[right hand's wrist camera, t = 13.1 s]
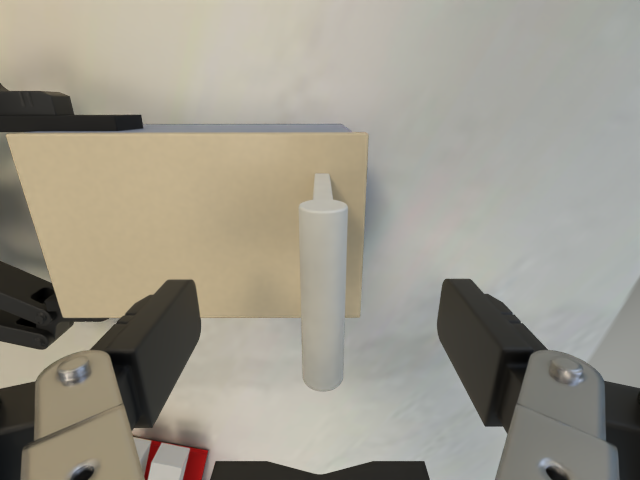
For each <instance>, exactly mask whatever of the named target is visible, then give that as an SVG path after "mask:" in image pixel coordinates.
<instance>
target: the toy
mask: <svg viewBox="0 0 640 480" xmlns="http://www.w3.org/2000/svg"><path fill="white" fill-rule="evenodd" d="M133 439H134V442H135V446H136V449H137V453H138V456H139V460H140V463H141V467H142V470H143V474H144V478H145V480H201V479H202V475H203V471H204V466H205V462H206V458H207V453H208V450H203V449H197V448H192V447H186V446H181V445H175V444H170V443H164V442H159V441H153V440H148V439H142V438H137V437H133Z"/></svg>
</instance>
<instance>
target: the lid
mask: <svg viewBox="0 0 640 480" xmlns="http://www.w3.org/2000/svg"><path fill="white" fill-rule="evenodd" d="M6 138H7V141H8V144H9V148H10V151H11V154H12V157H13V160H14V163H15V167H16V170H17V173H18V176H19V179H20V183H21V186H22V189H23V192H24V195H25V198H26V202H27V205H28V208H29V211H30V214H31V218H32V221H33V224H34V227H35V230H36V233H37V237H38V240H39V243H40V246H41V249H42V253H43V256H44V259H45V262H46V265H47V268H48V272H49V275H50V278H51V281H52V284H53V288H54V291H55V294H56V297H57V300H58V303H59V307H60V310H61V313H62V316H63V318H121V317H122V316H123V315H125V313H126V312H127V311H128V310H129V309H130V308H131V307H132V306H133V305H134V304H135V303H136V302H138V301H140V300H141V299H143V298H145V297H147V296H148V295H154V294H155V293H156V291H157V290H158V289H159V288H160V287H161V286H162V285H163V284H164V283H165V282H166V281H167V280H168V279H192V280H193V281H194V282H195V285H196V290H197V297H198V304H199V311H200V318H301V330H302V371H303V380H304V382H305V384H306V385H307V386H308V387H309V388H311V389H313V390H316V391H330V390H333V389H335V388H336V387H338V386H339V385H340V383H341V382H342V380H343V364H344V329H345V318H359V317H360V310H361V289H362V268H363V246H364V225H365V204H366V182H367V161H368V140H369V135H368V133H366V132H139V133H10V134H6Z"/></svg>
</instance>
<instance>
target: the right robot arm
mask: <svg viewBox="0 0 640 480" xmlns="http://www.w3.org/2000/svg"><path fill="white" fill-rule="evenodd" d="M437 330H438V336H439V339H440V341H441V343H442V345H443V347H444V349H445V351H446V353H447V355H448V357H449V359H450V361H451V362H452V364H453V366H454V368H455V370H456V372H457V374H458V376H459V378H460V380H461V382H462V383H463V385H464V387H465V389H466V391H467V393H468V395H469V397H470V399H471V401H472V402H473V404H474V406H475V408H476V410H477V412H478V414H479V416H480V418H481V420H482V422H483V423H484V425H485V426H503V427H504V429H505V430H506V432H507V434H508V435H507V439H506V442H505V446H504V449H503V453H502V456H501V460H500V463H499V467H498V470H497V474H496V478H495V480H640V388H636V387H631V386H626V385H621V384H616V383H612V382H607V381H604V380H603V378H602V376H601V375H600V373H599V372H598V371H597V370H596V369H594V368H593V367H592V366H591V365H589V364H588V363H586V362H584V361H583V360H581V359H579V358H577V357H574V356H572V355H569V354H566V353H563V352H559V351H553V350H548V349H547V348H546V347H545V346H544V345H543V344H542V343H541V342H540V341H539V340H538V339H537V338H536V337H535V336H534V335H533V334H532V333H531V332H530V331H529V329H528V328H527V327H526V326H525V325H524V324H523V323H521V321H520V320H519V319H518V318H517V317H516V316H515V315H513V314H512V312H511V311H510V310H509V309H508V308H507V306H506V305H505V304H504V303H503V302H501V301H499V300H497V299H496V298H494V297H492V296H491V295H489V294H484V293H483V292H482V291H481V290H480V289H479V288H478V287H477V286H476V284H475V283H474V282H473V281H472V280H471V279H445V280H444V282H443V285H442V291H441V298H440V305H439V312H438V319H437ZM200 333H201V318H200V311H199V304H198V297H197V290H196V285H195V282H194V281H193V280H192V279H168V280H167V281H166V282H165V283H164V284H163V285H162V286H161V287H160V288H159V289H158V290H157V291H156V293H155V294H154V295H148V296H147V297H145V298H143V299H141V300H140V301H138V302H136V303H135V304H134V305H133V306H132V307H131V308H130V309H129V310H128V311H127V312H126V313H125V315H123V316H122V317H121V318H120V319H119V320H118V321H117V324H114V325H113V326H112V328H111V329H110V330H109V331H108V332H107V333H106V334H105V335H104V336H103V337H102V338H101V339H100V340H99V341H98V342H97V343H96V344H95V345H94V346H93V347H92V348H91V349H90V350H87V351H81V352H77V353H74V354H71V355H68V356H66V357H63V358H61V359H59V360H57V361H56V362H54V363H52V364H51V365H49V366H48V367H47V368H46V369H44V370H43V371H42V372H41V373H40V375H39V376H38V378H37V380H36V381H35V382H31V383H26V384H21V385H16V386H11V387H7V388H2V389H0V480H145V478H144V474H143V470H142V467H141V463H140V460H139V456H138V453H137V449H136V446H135V442H134V439H133V435H132V430H133V428H152V427H153V425H154V423H155V422H156V420H157V418H158V416H159V414H160V412H161V410H162V408H163V406H164V405H165V403H166V401H167V399H168V397H169V395H170V393H171V391H172V390H173V388H174V386H175V384H176V382H177V380H178V378H179V376H180V374H181V373H182V371H183V369H184V367H185V365H186V363H187V361H188V359H189V357H190V356H191V354H192V352H193V350H194V348H195V346H196V344H197V342H198V340H199V337H200ZM210 480H430V479H429V476H428V472H427V469H426V465H425V462H424V461H372V462H368V463H365V464H361V465H357V466H353V467H350V468H346V469H342V470H338V471H335V472H331V473H327V474H322V475H318V474H313V473H309V472H305V471H302V470H298V469H294V468H290V467H287V466H283V465H279V464H275V463H272V462H268V461H216V462H215V465H214V469H213V472H212V476H211V479H210Z"/></svg>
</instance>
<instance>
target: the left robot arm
mask: <svg viewBox="0 0 640 480" xmlns="http://www.w3.org/2000/svg"><path fill="white" fill-rule="evenodd" d="M142 128H143V123H142V117H141V115H74V112H73V108H72V104H71V100H70V96H67V95H65V94H62V93H60V92H45V91H9V90H7V89H6V88H4V87H3V86H2V85H1V83H0V132H35V131H124V130H133V129H142ZM107 319H109V318H63V316H62V313H61V310H60V307H59V303H58V300H57V297H56V294H55V291H54V288H53V284H52V283H50V282H48V281H45V280H43V279H41V278H38V277H36V276H34V275H32V274H29V273H27V272H25V271H22V270H20V269H18V268H15V267H13V266H11V265H8V264H6V263H4V262H1V261H0V341H2V342H7V343H12V344H16V345H21V346H26V347H31V348H35V349H42V350H43V349H46V348H47V347H48V346H49V345H51V344H52V343H53V342H54V341H55V340H57V339H58V338H59V337H60V336H61V335H62V334H63V333H65V332H66V331H67V330H68V329H69V328H70V327H71V326H72V325H73V323H74V322H85V321H86V322H91V321H93V322H101V321H104V320H107Z"/></svg>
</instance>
